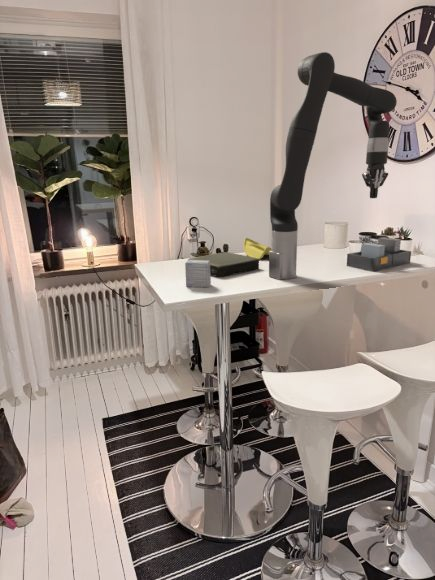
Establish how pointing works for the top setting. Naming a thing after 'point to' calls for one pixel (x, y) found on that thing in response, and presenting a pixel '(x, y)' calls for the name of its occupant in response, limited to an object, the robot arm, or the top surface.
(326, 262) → the top surface
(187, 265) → the medicine box
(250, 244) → the plastic component
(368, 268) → the tray
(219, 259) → the network switch
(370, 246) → the light blue block
